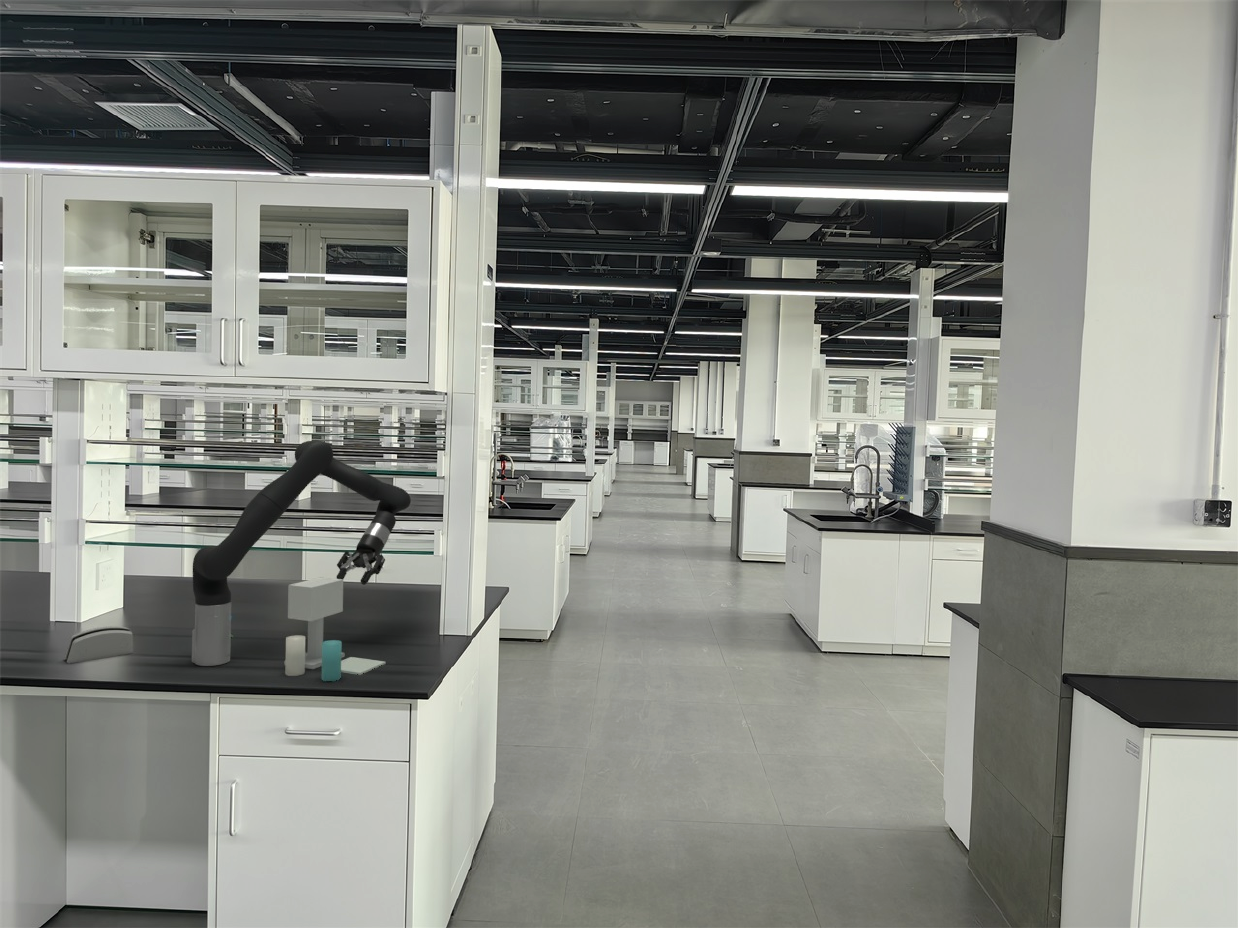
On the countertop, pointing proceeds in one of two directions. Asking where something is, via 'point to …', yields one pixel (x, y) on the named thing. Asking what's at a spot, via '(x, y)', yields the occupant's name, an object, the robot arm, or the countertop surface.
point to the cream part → (295, 655)
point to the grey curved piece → (99, 644)
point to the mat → (359, 665)
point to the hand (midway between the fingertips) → (350, 581)
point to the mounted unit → (315, 611)
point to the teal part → (331, 660)
